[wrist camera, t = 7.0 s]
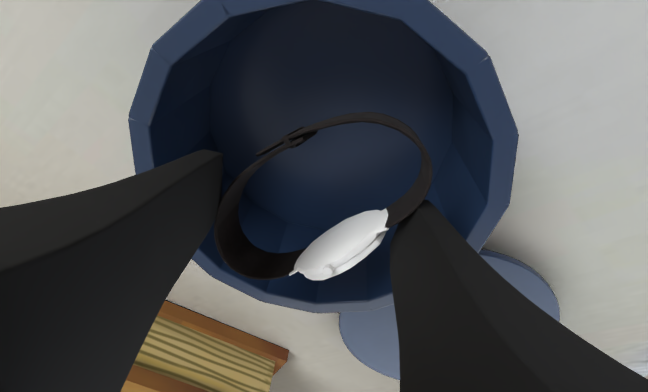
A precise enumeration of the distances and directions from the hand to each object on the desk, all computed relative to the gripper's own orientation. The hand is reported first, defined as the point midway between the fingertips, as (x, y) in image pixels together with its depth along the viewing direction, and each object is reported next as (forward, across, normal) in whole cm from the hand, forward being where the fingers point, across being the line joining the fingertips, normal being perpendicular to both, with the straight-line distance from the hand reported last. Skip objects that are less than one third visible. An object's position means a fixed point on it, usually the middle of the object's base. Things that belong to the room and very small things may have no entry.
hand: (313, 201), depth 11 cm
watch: (+2, 0, 0) cm, 2 cm away
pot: (+6, 0, 0) cm, 6 cm away
